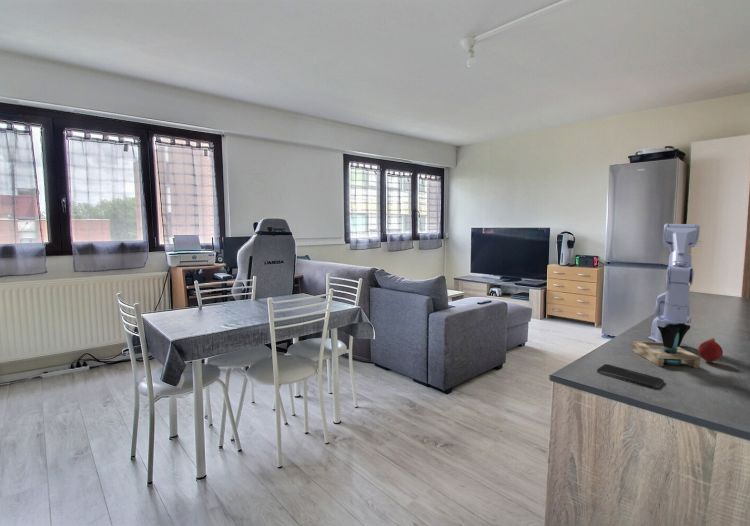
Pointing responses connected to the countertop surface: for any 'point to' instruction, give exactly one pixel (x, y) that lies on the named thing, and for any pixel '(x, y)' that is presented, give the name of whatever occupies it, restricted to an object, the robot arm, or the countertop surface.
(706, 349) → the onion
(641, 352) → the beige wooden frame
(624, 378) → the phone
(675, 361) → the peg
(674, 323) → the robot arm
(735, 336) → the countertop surface
